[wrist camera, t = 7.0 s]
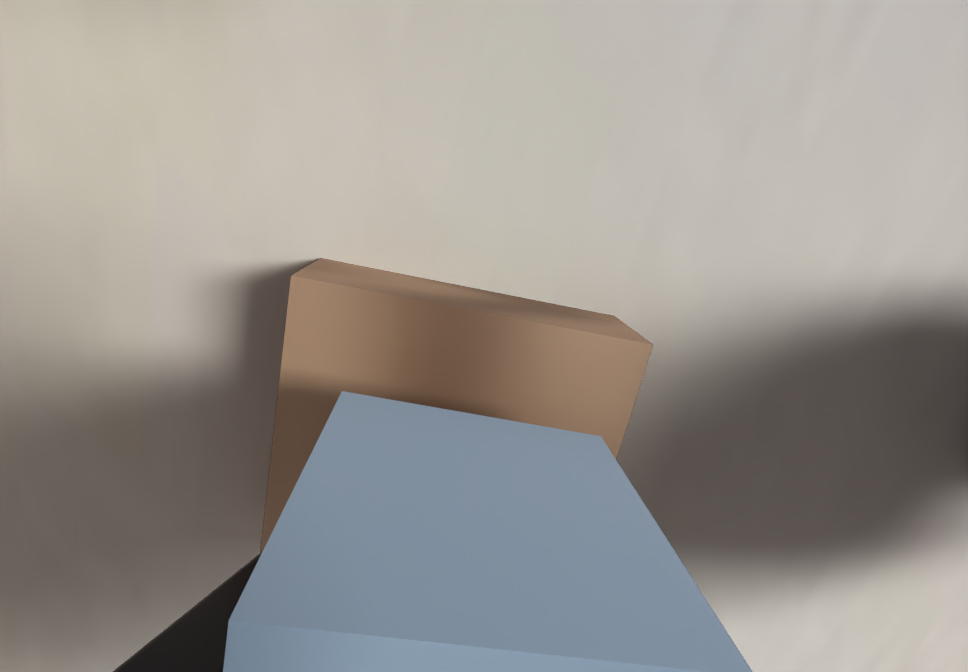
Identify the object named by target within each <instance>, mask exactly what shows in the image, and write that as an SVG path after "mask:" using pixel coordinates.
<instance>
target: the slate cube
mask: <svg viewBox="0 0 968 672" xmlns="http://www.w3.org/2000/svg"><path fill="white" fill-rule="evenodd" d="M223 672H752V670H751V669H750V667H749V665H748V664H747V662H746V661H745V659H744V658H743V656H742V655H741V653H740V651H739V650H738V648H737V647H736V645H735V644H734V642H733V641H732V639H731V637H730V636H729V634H728V633H727V631H726V630H725V628H724V627H723V625H722V623H721V622H720V620H719V619H718V617H717V616H716V614H715V613H714V611H713V610H712V608H711V606H710V605H709V603H708V602H707V600H706V599H705V597H704V596H703V594H702V592H701V591H700V589H699V588H698V586H697V585H696V583H695V582H694V580H693V578H692V577H691V575H690V574H689V572H688V571H687V569H686V568H685V566H684V564H683V563H682V561H681V560H680V558H679V557H678V555H677V554H676V552H675V551H674V549H673V547H672V546H671V544H670V543H669V541H668V540H667V538H666V537H665V535H664V533H663V532H662V530H661V529H660V527H659V526H658V524H657V523H656V521H655V519H654V518H653V516H652V515H651V513H650V512H649V510H648V509H647V507H646V505H645V504H644V502H643V501H642V499H641V498H640V496H639V495H638V493H637V492H636V490H635V488H634V487H633V485H632V484H631V482H630V481H629V479H628V478H627V476H626V474H625V473H624V471H623V470H622V468H621V467H620V465H619V464H618V462H617V460H616V459H615V457H614V456H613V454H612V453H611V451H610V450H609V448H608V446H607V445H606V443H605V442H604V440H603V439H602V437H601V436H597V435H591V434H585V433H580V432H574V431H568V430H562V429H557V428H551V427H545V426H539V425H534V424H528V423H522V422H516V421H511V420H505V419H499V418H494V417H488V416H482V415H476V414H471V413H465V412H459V411H453V410H448V409H442V408H436V407H430V406H425V405H419V404H413V403H408V402H402V401H396V400H390V399H385V398H379V397H373V396H367V395H362V394H356V393H350V392H345V391H342V392H341V394H340V396H339V398H338V400H337V402H336V404H335V406H334V408H333V410H332V412H331V414H330V416H329V418H328V420H327V422H326V424H325V427H324V429H323V431H322V433H321V435H320V437H319V439H318V441H317V443H316V445H315V447H314V449H313V451H312V453H311V455H310V457H309V459H308V461H307V463H306V465H305V467H304V469H303V471H302V473H301V475H300V477H299V479H298V481H297V483H296V485H295V487H294V489H293V491H292V493H291V495H290V497H289V499H288V501H287V503H286V505H285V507H284V509H283V511H282V514H281V516H280V518H279V520H278V522H277V524H276V526H275V528H274V530H273V532H272V534H271V536H270V538H269V540H268V542H267V544H266V546H265V548H264V550H263V552H262V554H261V556H260V558H259V560H258V562H257V564H256V566H255V568H254V570H253V572H252V574H251V576H250V578H249V580H248V582H247V584H246V586H245V588H244V590H243V592H242V594H241V596H240V599H239V601H238V603H237V605H236V607H235V609H234V611H233V613H232V615H231V617H230V619H229V622H228V631H227V640H226V649H225V658H224V667H223Z"/></svg>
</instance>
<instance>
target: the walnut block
mask: <svg viewBox="0 0 968 672" xmlns="http://www.w3.org/2000/svg"><path fill="white" fill-rule="evenodd" d="M652 347H653V344H652V343H650V342H649V341H647V340H646V339H645V338H643V337H642V336H641V335H639V334H638V333H637V332H635V331H634V330H633V329H631V328H630V327H629V326H627V325H626V324H624V323H623V322H622V321H620V320H619V319H618V318H616V317H615V316H612V315H607V314H601V313H596V312H591V311H586V310H581V309H576V308H571V307H566V306H561V305H556V304H551V303H546V302H541V301H536V300H530V299H525V298H520V297H515V296H510V295H505V294H500V293H495V292H490V291H485V290H480V289H475V288H470V287H465V286H460V285H454V284H449V283H444V282H439V281H434V280H429V279H424V278H419V277H414V276H409V275H404V274H399V273H394V272H389V271H383V270H378V269H373V268H368V267H363V266H358V265H353V264H348V263H343V262H338V261H333V260H328V259H323V258H320V259H319V260H317V261H315V262H313V263H312V264H310V265H308V266H306V267H305V268H303V269H301V270H300V271H298V272H296V273H294V274H293V275H291V280H290V289H289V298H288V307H287V316H286V325H285V334H284V343H283V352H282V361H281V370H280V379H279V388H278V397H277V406H276V415H275V424H274V433H273V442H272V451H271V460H270V469H269V478H268V486H267V495H266V504H265V513H264V522H263V531H262V540H261V549H260V553H261V552H263V550H264V548H265V546H266V544H267V542H268V540H269V538H270V536H271V534H272V532H273V530H274V528H275V526H276V524H277V522H278V520H279V518H280V516H281V514H282V511H283V509H284V507H285V505H286V503H287V501H288V499H289V497H290V495H291V493H292V491H293V489H294V487H295V485H296V483H297V481H298V479H299V477H300V475H301V473H302V471H303V469H304V467H305V465H306V463H307V461H308V459H309V457H310V455H311V453H312V451H313V449H314V447H315V445H316V443H317V441H318V439H319V437H320V435H321V433H322V431H323V429H324V427H325V424H326V422H327V420H328V418H329V416H330V414H331V412H332V410H333V408H334V406H335V404H336V402H337V400H338V398H339V396H340V394H341V392H342V391H345V392H350V393H356V394H362V395H367V396H373V397H379V398H385V399H390V400H396V401H402V402H408V403H413V404H419V405H425V406H430V407H436V408H442V409H448V410H453V411H459V412H465V413H471V414H476V415H482V416H488V417H494V418H499V419H505V420H511V421H516V422H522V423H528V424H534V425H539V426H545V427H551V428H557V429H562V430H568V431H574V432H580V433H585V434H591V435H597V436H601V437H602V439H603V440H604V442H605V443H606V445H607V446H608V448H609V450H610V451H611V453H612V454H613V456H614V457H615V459H617V456H618V453H619V450H620V447H621V443H622V440H623V437H624V434H625V431H626V428H627V425H628V422H629V419H630V415H631V412H632V409H633V406H634V403H635V400H636V397H637V394H638V390H639V387H640V384H641V381H642V378H643V375H644V372H645V369H646V365H647V362H648V359H649V356H650V353H651V350H652Z"/></svg>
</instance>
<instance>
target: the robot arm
mask: <svg viewBox="0 0 968 672" xmlns="http://www.w3.org/2000/svg"><path fill="white" fill-rule="evenodd" d="M261 554H262V552H261V553H260V554H259V555H258V556H256V557H255V558H254V559H253V560H251V561H250V562H249V563H248V564H246V565H245V566H244V567H243V568H241V569H240V570H239V571H238V572H237V573H235V574H234V575H233V576H232V577H230V578H229V579H228V580H227V581H225V582H224V583H223V584H222V585H220V586H219V587H218V588H217V589H215V590H214V591H213V592H212V593H210V594H209V595H208V596H207V597H205V598H204V599H203V600H202V601H200V602H199V603H198V604H197V605H195V606H194V607H193V608H192V609H190V610H189V611H188V612H187V613H185V614H184V615H183V616H182V617H180V618H179V619H178V620H177V621H175V622H174V623H173V624H172V625H170V626H169V627H168V628H167V629H165V630H164V631H163V632H162V633H160V634H159V635H158V636H157V637H155V638H154V639H153V640H152V641H150V642H149V643H148V644H147V645H145V646H144V647H143V648H142V649H140V650H139V651H138V652H137V653H135V654H134V655H133V656H132V657H130V658H129V659H128V660H127V661H125V662H124V663H123V664H122V665H121V666H119V667H118V668H117V669H116V670H114V671H113V672H223V667H224V658H225V649H226V640H227V631H228V622H229V619H230V617H231V615H232V613H233V611H234V609H235V607H236V605H237V603H238V601H239V599H240V596H241V594H242V592H243V590H244V588H245V586H246V584H247V582H248V580H249V578H250V576H251V574H252V572H253V570H254V568H255V566H256V564H257V562H258V560H259V558H260V556H261Z"/></svg>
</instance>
